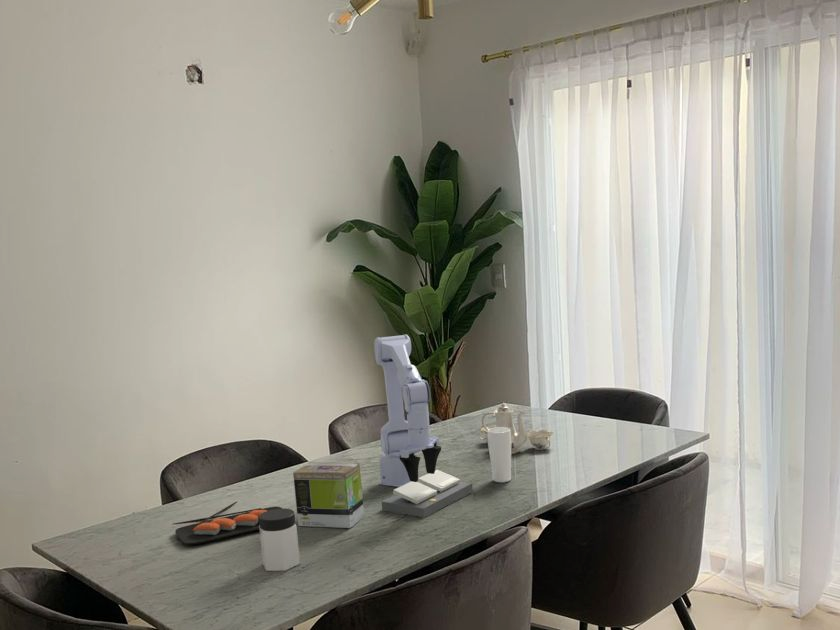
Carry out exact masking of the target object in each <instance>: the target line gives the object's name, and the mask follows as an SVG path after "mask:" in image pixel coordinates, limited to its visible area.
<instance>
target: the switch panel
mask: <svg viewBox="0 0 840 630" xmlns="http://www.w3.org/2000/svg"><path fill="white" fill-rule="evenodd" d="M421 484H422V483H421ZM423 485H424V484H423ZM425 486H427V485H425ZM428 487H429V486H428ZM430 488H431V487H430ZM473 488H474V487H473V482H468V481H467V482H465V481H460V483H458V484H456V485H454V486H452V487H450V488H448V489H446V490H444V491H442V492H440V491H438V490H437V494H436V495H434V496H432V497H430V498H428V499H426V500H424V501H422V502H420V503H418V504H415V503H413V502H411V501H409V500H407V499H405V498H402V497H400V496H398V495H396V494H394V495H391V496H390V497H388V498H386V499H383V500H381V510H382V511H385V512H390V513H394V514H395V513H396V514H400V513H401V515H405V514H408V515H407V516H411V515H412V516H411V517H416V516H419V517H418V518H422V517H424V518H423V519H425V518H426V516H427V517H428V516H430V514H431V515H433V514H434V513H436V512H438V511H439V509H440V510H441V508H442V509H444V508H446V507H447V505H448V506H450V505H451V504H454V503H455V502H457V501H459V500H460V498H461V499H462V498H464V497H466V496H468V495H469V493H470V494H472V493H473V491H474V490H473ZM432 489H433V488H432ZM434 490H436V489H434ZM471 492H472V493H471ZM467 494H468V495H467ZM458 499H459V500H458ZM454 501H455V502H454ZM445 506H446V507H445ZM443 507H444V508H443ZM437 510H438V511H437ZM432 513H433V514H432Z"/></svg>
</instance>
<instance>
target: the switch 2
mask: <svg viewBox="0 0 840 630" xmlns="http://www.w3.org/2000/svg"><path fill="white" fill-rule="evenodd" d="M418 482H419V483H422V484H424V485H427V486H429V487H431V488H433V489H436V490H438V491H440V492H442V491H444V490H446V489H448V488H450V487H452V486H454V485H456V484H458V483H460V482H461V479H460V478H457V477H455V476H453V475H451V474H448V473H446V472H444V471H441V470H440V469H435V473H434V474H430V473H426V474H424V475H422V476H420V477H418Z"/></svg>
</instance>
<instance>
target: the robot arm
mask: <svg viewBox="0 0 840 630" xmlns="http://www.w3.org/2000/svg"><path fill="white" fill-rule="evenodd" d="M373 347H374V349H373V350H374V359H375V362H376V365H379V366H381V367H382V371H383V374H384V385H385V386H384V387H385V394H386V405H387V415H388V421H387V422H386V423H385V424H384V425H383V426H382V427H381V428H380V448H381V451H382V455H381V456H380V460H379V471H380V481H379V485H382V486H389V487H390V486H391V487H396V488H398V487H401V486H403V485H405V484H407V483H409V482H411V481H412V482H418V478H419V465H420V460H421V457H420V456H416V455H415V454H417V453H419V452H422V456H423V459H424V465H425V470H426V474H428V473H430V474H434V473H435V470H436V467H437V461H438V457H439V455H440V452H441V451H442V446H440V438H439V437H438V436H431V430H430V428H431V427H430V417H429V416H430V413H429V403H430V401H431V391H430V390H431V389H430V386H429V383H428V381H427V380H425V379H422V377H421V375H420V373H419V371H418V369H417V366H416V365H414V364H412V363H411V360H410V358H409V357H410V356H411V353H412V341H411V337H410V336H409V335H408V334H402V335H394V336H393V335H392V336H382V337H379V336H378V337H376V338H375V339H374V343H373ZM404 410H405V411H406V419H405V411H404Z"/></svg>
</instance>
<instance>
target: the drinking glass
mask: <svg viewBox="0 0 840 630" xmlns="http://www.w3.org/2000/svg"><path fill="white" fill-rule="evenodd" d="M487 436H488V442H487V447H488V452H489V461H490V467H491V472H492V473H491V474H492V480H493V481H494V482H496V483H507V482H508V483H509V482H510V481H511V480H512V470H511V469H512V454H511V431H510V429H509V428H507V427H495V428H490V429H488V430H487Z"/></svg>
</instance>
